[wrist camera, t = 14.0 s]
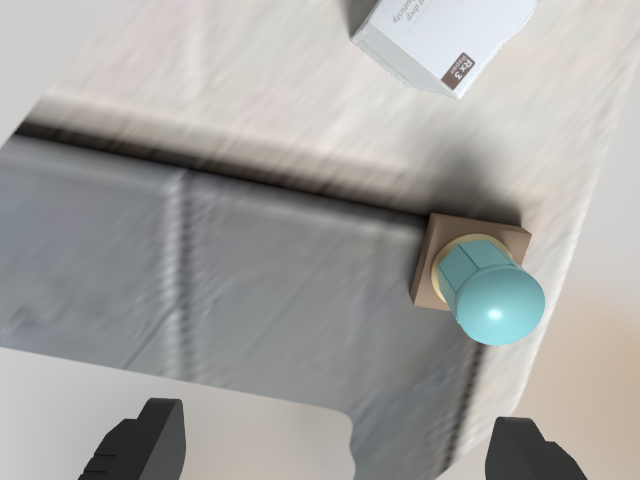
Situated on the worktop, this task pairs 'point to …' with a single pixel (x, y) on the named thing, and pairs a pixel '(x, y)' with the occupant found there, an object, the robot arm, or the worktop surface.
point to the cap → (490, 293)
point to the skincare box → (439, 39)
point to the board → (444, 238)
